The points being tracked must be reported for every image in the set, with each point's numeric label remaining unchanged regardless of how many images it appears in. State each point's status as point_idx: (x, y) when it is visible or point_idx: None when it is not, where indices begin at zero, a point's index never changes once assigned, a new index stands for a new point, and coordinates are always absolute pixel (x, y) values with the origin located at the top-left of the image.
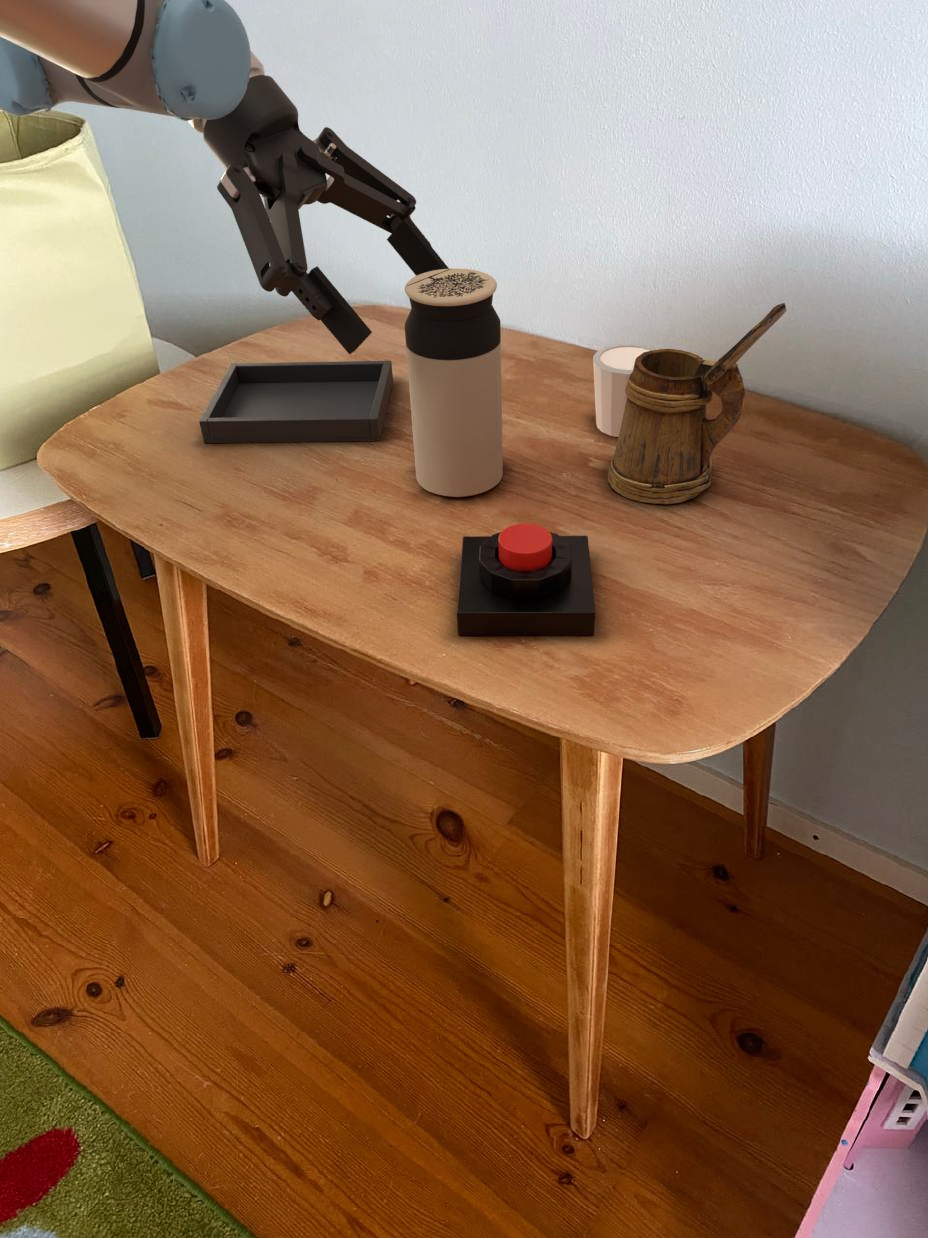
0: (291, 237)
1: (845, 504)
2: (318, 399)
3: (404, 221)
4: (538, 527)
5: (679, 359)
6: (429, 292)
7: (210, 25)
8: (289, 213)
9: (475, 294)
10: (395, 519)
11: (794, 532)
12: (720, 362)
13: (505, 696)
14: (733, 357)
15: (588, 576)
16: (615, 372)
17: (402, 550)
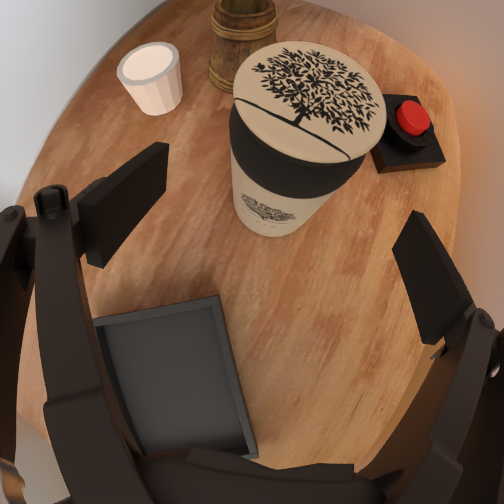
0: (483, 367)
1: None
2: (154, 380)
3: (96, 204)
4: (404, 106)
5: (221, 5)
6: (362, 114)
7: None
8: (464, 419)
9: (346, 59)
10: (347, 235)
11: (286, 21)
12: None
13: (456, 142)
14: None
15: (393, 95)
16: (175, 64)
17: (381, 218)
